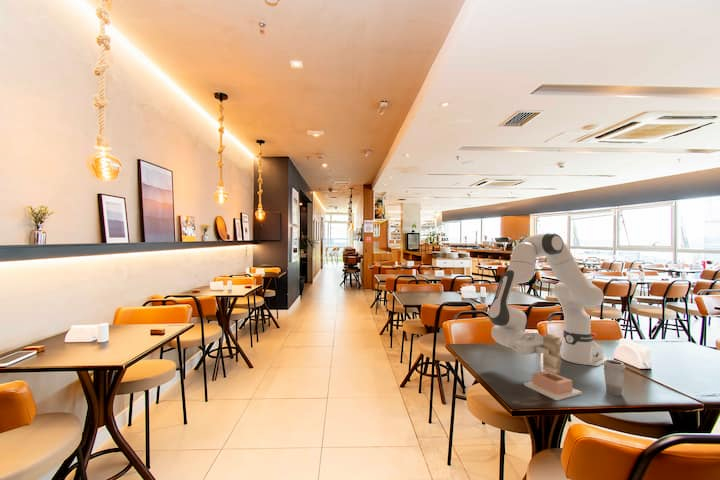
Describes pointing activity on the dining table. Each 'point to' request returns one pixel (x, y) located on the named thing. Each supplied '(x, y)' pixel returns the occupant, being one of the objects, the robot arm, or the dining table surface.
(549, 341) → the slat
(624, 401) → the dining table surface
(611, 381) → the cup
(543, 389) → the pink slotted holder
